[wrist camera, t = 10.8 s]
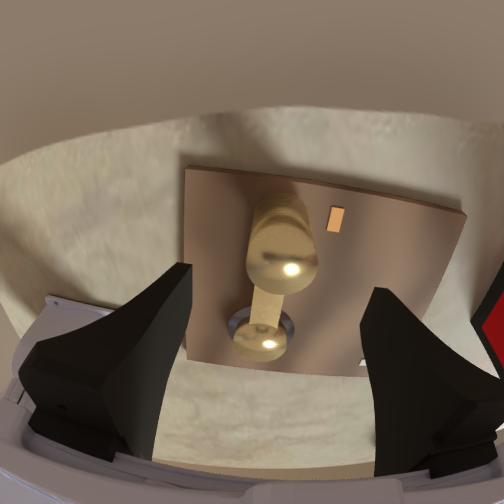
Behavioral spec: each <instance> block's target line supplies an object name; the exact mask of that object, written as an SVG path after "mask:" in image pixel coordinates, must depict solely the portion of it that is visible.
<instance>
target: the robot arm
mask: <svg viewBox="0 0 504 504" xmlns="http://www.w3.org/2000/svg"><path fill="white" fill-rule="evenodd" d="M45 302H46V306H45V308H44V309H43V310H42V312H41V313H40V314H39V316H38V317H37V318H36V320H35V321H34V322H33V324H32V325H31V326H30V328H29V329H28V330H27V332H26V333H25V335H24V336H23V337H22V339H21V340H20V342H19V343H18V345H17V347H16V349H15V352H14V356H13V361H12V372H13V376H14V378H12V379H11V380H10V381H9V382H8V383H7V385H6V386H5V388H4V389H3V391H2V392H1V394H0V504H504V443H501V444H499V445H498V446H496V447H495V445H494V442H493V441H494V440H496V439H497V434H496V431H495V430H496V429H497V428H498V427H500V426H501V425H502V424H503V423H504V381H503V380H501V379H499V378H497V377H495V376H493V375H491V374H489V373H487V372H485V371H483V370H482V369H480V368H478V367H477V366H475V365H473V364H472V363H470V362H469V361H467V360H466V359H464V358H463V357H462V356H460V355H459V354H457V353H456V352H455V351H453V350H452V349H451V348H450V347H449V346H447V345H446V344H445V343H444V342H442V341H441V340H440V339H439V338H438V337H437V336H436V335H435V334H433V333H432V332H431V331H430V330H429V329H428V328H427V327H426V326H425V325H424V324H423V323H422V322H421V321H420V320H419V319H418V318H417V317H416V316H415V315H414V314H413V313H412V312H411V311H410V310H409V309H408V308H407V306H406V305H405V304H404V303H403V302H402V301H401V300H400V299H399V298H398V297H397V296H396V295H395V294H394V293H393V292H392V291H391V290H389V289H388V288H382V287H374V289H373V292H372V294H371V297H370V300H369V302H368V305H367V307H366V310H365V312H364V314H363V317H362V319H361V322H360V324H359V326H360V337H361V345H362V350H363V354H364V358H365V363H366V367H367V371H368V375H369V379H370V384H371V388H372V394H373V400H374V411H375V430H376V453H375V470H374V477H370V478H359V479H342V480H278V479H262V478H249V477H239V476H230V475H221V474H215V473H208V472H202V471H196V470H190V469H185V468H180V467H175V466H170V465H166V464H161V463H157V462H152V454H153V448H154V441H155V436H156V430H157V425H158V420H159V415H160V411H161V406H162V401H163V397H164V393H165V389H166V385H167V381H168V377H169V374H170V371H171V368H172V366H173V363H174V360H175V358H176V355H177V352H178V350H179V347H180V345H181V342H182V339H183V337H184V334H185V332H186V329H187V326H188V322H189V318H190V314H191V310H192V306H193V264H187V263H180V262H177V263H176V264H174V265H173V266H172V267H171V268H170V269H169V270H167V271H166V272H165V273H164V274H163V275H162V276H161V277H159V278H158V279H157V280H156V281H155V282H154V283H152V284H151V285H150V286H149V287H147V288H146V289H145V290H144V291H143V292H141V293H140V294H139V295H137V296H136V297H134V298H133V299H132V300H130V301H129V302H128V303H126V304H125V305H123V306H122V307H120V308H118V309H117V310H111V309H106V308H101V307H97V306H92V305H88V304H84V303H79V302H75V301H71V300H67V299H63V298H59V297H55V296H51V295H47V296H46V297H45Z"/></svg>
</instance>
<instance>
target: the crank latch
mask: <svg viewBox="0 0 504 504" xmlns="http://www.w3.org/2000/svg"><path fill="white" fill-rule="evenodd" d="M246 270H247V274H248V276H249V278H250V279H251V281H252V282H253V283H254V292H253V299H252V306H251V313H250V316H248V317H246V318H244V319H242V320H241V321H240V322H239V323H238V324H237V325H236V328H235V333H234V339H233V346H234V349H235V351H236V352H237V353H238V354H239V355H240V356H242V357H243V358H245V359H247V360H250V361H255V362H268V361H272V360H275V359H277V358H279V357H280V356H281V355H283V353H284V352H285V351H286V348H287V331H286V328H285V326H284V325H283V323H282V322H280V321H279V318H280V313H281V309H282V304H283V299H284V295H288V294H293V293H296V292H299V291H301V290H303V289H304V288H306V287H307V286H308V285H309V284H310V283H311V282H312V281H313V279H314V278H315V276H316V274H317V271H318V258H317V253H316V248H315V243H314V238H313V233H312V228H311V223H310V219H309V214H308V210H307V207H306V205H305V204H304V202H303V201H302V200H301V199H300V198H299V197H297V196H296V195H294V194H291V193H288V192H274V193H271V194H269V195H267V196H265V197H264V198H262V199H261V200H260V201H259V203H258V204H257V206H256V208H255V211H254V216H253V222H252V228H251V234H250V241H249V247H248V253H247V259H246Z"/></svg>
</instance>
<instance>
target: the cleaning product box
mask: <svg viewBox="0 0 504 504" xmlns="http://www.w3.org/2000/svg"><path fill="white" fill-rule="evenodd" d="M470 323H471V324H472V326H473V328H474V330H475V331H476V333H477V335H478V337H479V339H480V340H481V342H482V344H483V346H484V348H485V350H486V352H487V354H488V355H489V357H490V359H491V361H492V363H493V365H494V367H495V369H496V371H497V373H498V375H499V378H500V379H501V380H503V381H504V262H503V264H502V266H501V268H500V270H499V272H498V274H497V276H496V278H495V280H494V282H493V283H492V285H491V287H490V289H489V291H488V292H487V294H486V296H485V298H484V299H483V301H482V303H481V305H480V306H479V308H478V310H477V311H476V313H475V314H474V316H473V318H472V319H471V321H470Z"/></svg>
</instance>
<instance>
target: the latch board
mask: <svg viewBox="0 0 504 504" xmlns="http://www.w3.org/2000/svg"><path fill="white" fill-rule="evenodd" d="M274 192H288V193H291V194H294V195H296V196H297V197H299V198H300V199H301V200H302V201H303V202H304V204H305V205H306V207H307V210H308V214H309V219H310V223H311V228H312V233H313V238H314V243H315V248H316V253H317V258H318V271H317V274H316V276H315V278H314V279H313V281H312V282H311V283H310V284H309V285H308V286H307V287H306V288H304V289H303V290H301V291H299V292H296V293H293V294H288V295H284V299H283V304H282V309H281V313H280V318H279V321H280V322H282V323H283V325H284V326H285V328H286V331H287V348H286V351H285V352H284V353H283V355H281V356H280V357H279V358H277V359H275V360H272V361H268V362H255V361H250V360H247V359H245V358H243V357H242V356H240V355H239V354H238V353H237V352H236V351H235V349H234V346H233V339H234V333H235V328H236V325H237V324H238V323H239V322H240V321H241V320H242V319H244V318H246V317H248V316H250V313H251V306H252V299H253V292H254V283H253V282H252V281H251V279H250V278H249V276H248V274H247V270H246V259H247V253H248V247H249V241H250V234H251V228H252V222H253V216H254V211H255V208H256V206H257V204H258V203H259V201H260V200H261V199H262V198H264V197H265V196H267V195H269V194H271V193H274ZM466 218H467V215H466V214H465V213H463V212H462V211H459V210H455V209H451V208H447V207H443V206H439V205H435V204H430V203H426V202H422V201H417V200H413V199H408V198H404V197H399V196H394V195H389V194H384V193H379V192H374V191H369V190H364V189H359V188H353V187H348V186H342V185H336V184H331V183H325V182H318V181H312V180H306V179H299V178H292V177H285V176H278V175H271V174H263V173H255V172H247V171H239V170H230V169H221V168H211V167H200V166H188V167H187V168H186V169H185V197H184V263H187V264H193V306H192V310H191V314H190V318H189V322H188V326H187V329H186V352H187V360H193V361H199V362H205V363H212V364H218V365H225V366H233V367H240V368H248V369H256V370H265V371H275V372H286V373H297V374H310V375H326V376H347V377H369V375H368V371H367V367H366V363H365V358H364V354H363V350H362V345H361V337H360V326H359V324H360V322H361V319H362V317H363V314H364V312H365V310H366V307H367V305H368V302H369V300H370V297H371V294H372V292H373V289H374V287H382V288H388V289H389V290H391V291H392V292H393V293H394V294H395V295H396V296H397V297H398V298H399V299H400V300H401V301H402V302H403V303H404V304H405V305H406V306H407V308H408V309H409V310H410V311H411V312H412V313H413V314H414V315H415V316H416V317H417V318H418V319H419V320H420V321H421V320H422V318H423V316H424V314H425V312H426V311H427V309H428V307H429V305H430V303H431V301H432V299H433V297H434V294H435V292H436V290H437V288H438V286H439V284H440V282H441V280H442V277H443V275H444V273H445V271H446V268H447V266H448V264H449V262H450V259H451V257H452V254H453V252H454V250H455V247H456V245H457V242H458V240H459V237H460V234H461V232H462V229H463V227H464V224H465V221H466Z"/></svg>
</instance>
